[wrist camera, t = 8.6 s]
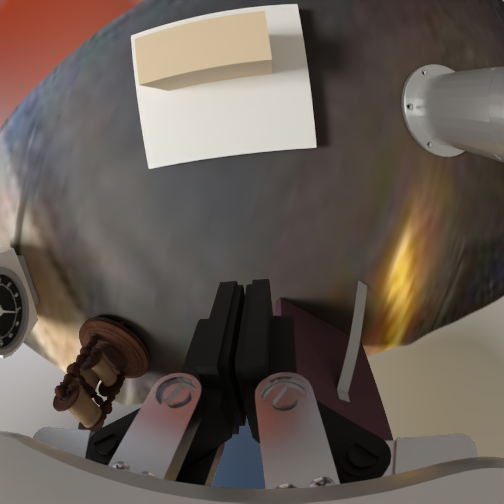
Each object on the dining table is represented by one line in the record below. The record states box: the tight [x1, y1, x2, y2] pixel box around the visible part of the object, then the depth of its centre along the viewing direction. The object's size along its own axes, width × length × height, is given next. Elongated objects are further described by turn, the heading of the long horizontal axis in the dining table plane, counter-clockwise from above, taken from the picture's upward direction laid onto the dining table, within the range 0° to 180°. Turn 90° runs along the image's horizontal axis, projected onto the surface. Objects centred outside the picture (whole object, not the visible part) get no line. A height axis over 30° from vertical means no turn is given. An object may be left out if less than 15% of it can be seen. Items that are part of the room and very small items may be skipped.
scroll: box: [53, 317, 150, 433], centre depth 41 cm, size 15×15×20 cm
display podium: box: [131, 4, 317, 169], centre depth 29 cm, size 20×18×2 cm
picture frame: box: [276, 280, 393, 441], centre depth 31 cm, size 17×10×25 cm, turn 58°
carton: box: [135, 11, 272, 91], centre depth 24 cm, size 12×8×5 cm
